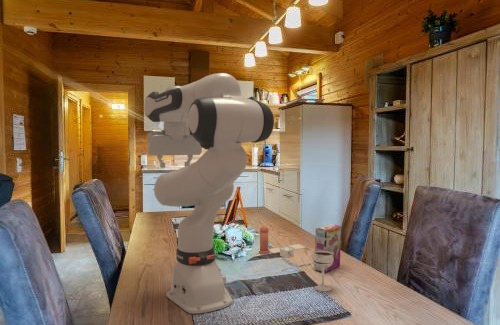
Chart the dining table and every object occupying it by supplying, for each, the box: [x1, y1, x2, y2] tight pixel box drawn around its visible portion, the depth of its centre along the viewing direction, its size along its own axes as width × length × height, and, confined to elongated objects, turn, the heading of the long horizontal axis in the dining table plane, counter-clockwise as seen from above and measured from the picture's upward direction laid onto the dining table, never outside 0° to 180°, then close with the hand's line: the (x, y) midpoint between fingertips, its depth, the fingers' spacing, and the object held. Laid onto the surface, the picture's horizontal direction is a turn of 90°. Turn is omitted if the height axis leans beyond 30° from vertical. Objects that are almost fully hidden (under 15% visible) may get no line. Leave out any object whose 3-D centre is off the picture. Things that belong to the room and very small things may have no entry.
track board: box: [252, 243, 309, 258], centre depth 149 cm, size 10×30×1 cm, turn 119°
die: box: [279, 247, 294, 259], centre depth 141 cm, size 4×4×4 cm
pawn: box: [258, 225, 270, 255], centre depth 145 cm, size 5×5×12 cm
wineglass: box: [312, 249, 334, 292], centre depth 111 cm, size 7×7×12 cm
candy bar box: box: [313, 223, 342, 274], centre depth 129 cm, size 11×5×16 cm, turn 135°
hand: (175, 167), depth 127 cm, fingers open, 8 cm apart
